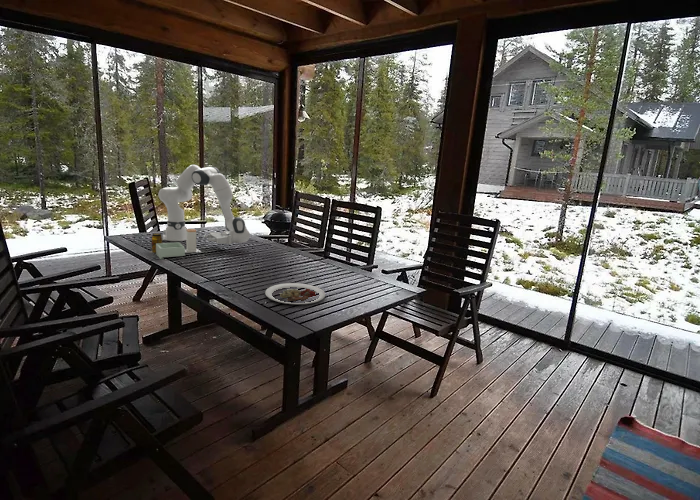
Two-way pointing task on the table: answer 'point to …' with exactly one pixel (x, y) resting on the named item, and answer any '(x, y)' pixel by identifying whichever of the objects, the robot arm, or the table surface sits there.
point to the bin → (169, 250)
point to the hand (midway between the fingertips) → (206, 238)
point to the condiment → (155, 241)
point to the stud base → (192, 251)
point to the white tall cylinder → (190, 240)
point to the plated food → (295, 292)
